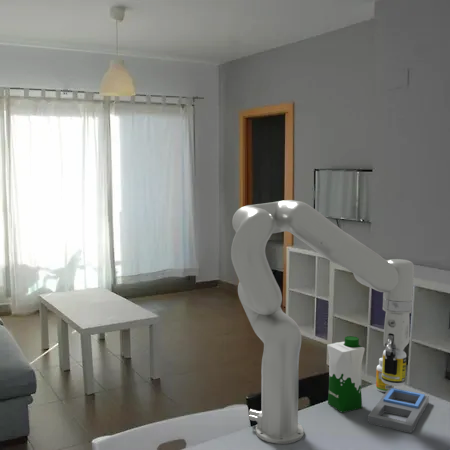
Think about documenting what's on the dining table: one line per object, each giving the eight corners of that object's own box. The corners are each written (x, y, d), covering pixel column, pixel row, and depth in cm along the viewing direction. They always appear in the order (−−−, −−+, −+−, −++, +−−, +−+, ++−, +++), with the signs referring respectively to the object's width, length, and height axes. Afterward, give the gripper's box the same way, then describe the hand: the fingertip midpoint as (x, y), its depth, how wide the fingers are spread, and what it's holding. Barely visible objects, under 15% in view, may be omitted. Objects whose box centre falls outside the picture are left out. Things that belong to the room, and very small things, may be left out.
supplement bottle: (379, 384, 178) (380, 355, 177) (396, 388, 175) (397, 358, 174) (373, 390, 174) (374, 360, 173) (390, 394, 171) (391, 363, 170)
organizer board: (367, 422, 152) (367, 413, 151) (388, 394, 170) (389, 386, 170) (411, 433, 146) (411, 423, 146) (428, 402, 165) (428, 394, 164)
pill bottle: (406, 387, 149) (408, 347, 147) (382, 385, 150) (384, 345, 149) (403, 379, 155) (405, 340, 154) (380, 377, 156) (382, 338, 155)
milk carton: (366, 408, 161) (368, 341, 159) (340, 414, 157) (342, 345, 155) (347, 397, 169) (349, 333, 166) (322, 402, 165) (323, 337, 163)
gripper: (403, 314, 141) (400, 382, 143) (418, 301, 156) (415, 363, 157) (374, 309, 145) (371, 376, 146) (391, 297, 159) (388, 358, 161)
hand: (393, 369), depth 152 cm, fingers closed on pill bottle, 6 cm apart
